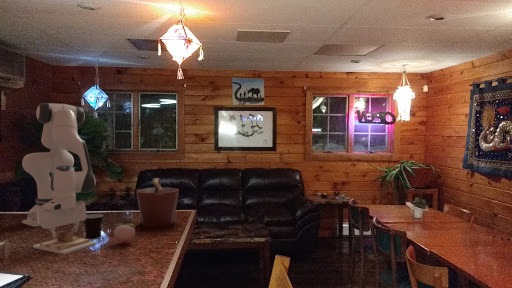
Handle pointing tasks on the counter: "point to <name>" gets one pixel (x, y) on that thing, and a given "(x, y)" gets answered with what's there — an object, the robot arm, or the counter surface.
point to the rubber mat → (65, 249)
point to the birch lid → (64, 241)
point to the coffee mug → (93, 226)
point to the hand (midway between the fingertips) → (64, 234)
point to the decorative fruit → (124, 232)
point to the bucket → (157, 205)
